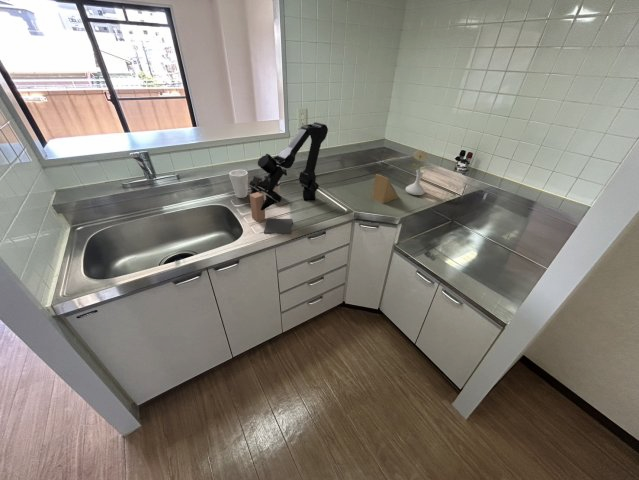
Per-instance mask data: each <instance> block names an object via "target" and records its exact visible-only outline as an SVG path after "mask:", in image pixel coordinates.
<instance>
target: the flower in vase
mask: <svg viewBox="0 0 639 480" xmlns="http://www.w3.org/2000/svg"><path fill="white" fill-rule="evenodd" d="M413 157H414V159H415V160H417V163H412V164H411V166H412V167H414V168H417V169H416V170H415V171H416V179H415V182H413V183H411V184H409V185H407V186H406V187H405V191H406V193H408V194H410V195H413V196H422V195H424V194H425V193H426V191H425V189H424V187H423V186H422V185H421V183H420V181H421V178H422V176H423V175H424V174H425V172H426V171H425V170H423V169H425V168H427V165H425V166H421V167H419V162H425V161H427V160H428V158H429V156H428V154H427V152H425V151H424V150H422V149H421V150H420V149H418V150H416V151H415V152H414V153H413Z"/></svg>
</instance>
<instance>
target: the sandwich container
mask: <svg viewBox="0 0 639 480" xmlns="http://www.w3.org/2000/svg"><path fill="white" fill-rule="evenodd" d="M394 188H395V187H393V185H392V183H391V181H390V179H389V178H388V177H385V176H383V175H381V174H378V173H376V174H375V176H374V183H373V190H372V194H371V199H372V200H375V201H377V202H378V203H380V204H386V203H388V202H391V201H394V200H395V199H398V198H399V195H398V193H397V192H396V190H395V189H394Z"/></svg>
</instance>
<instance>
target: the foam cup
mask: <svg viewBox="0 0 639 480" xmlns="http://www.w3.org/2000/svg"><path fill="white" fill-rule="evenodd" d="M228 176H229V179H230V181H231V185H232V188H233V191H234V194H235V197H236V198H238V199H241V198H243V199H244V198H245V197H247V196H248V186H249V183H248V182H249V181H248V180H249V179H248V178H249V173H248V171H247V170H244V169H233V170H231V171H229V173H228Z"/></svg>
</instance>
